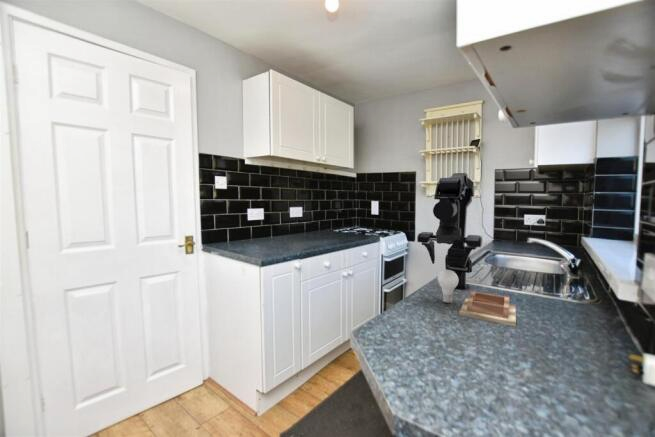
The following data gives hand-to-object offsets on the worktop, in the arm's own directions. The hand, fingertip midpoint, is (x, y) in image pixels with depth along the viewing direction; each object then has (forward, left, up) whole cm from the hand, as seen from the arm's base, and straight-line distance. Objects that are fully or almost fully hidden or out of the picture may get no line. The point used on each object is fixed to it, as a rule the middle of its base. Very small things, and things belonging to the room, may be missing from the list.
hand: (448, 265), depth 96 cm
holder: (+1, +12, -13) cm, 17 cm away
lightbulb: (-1, 0, -13) cm, 13 cm away
